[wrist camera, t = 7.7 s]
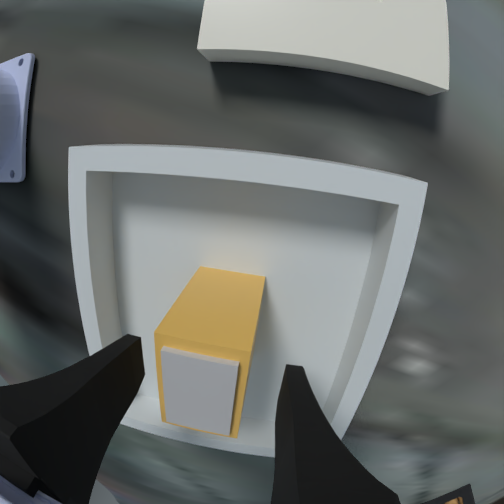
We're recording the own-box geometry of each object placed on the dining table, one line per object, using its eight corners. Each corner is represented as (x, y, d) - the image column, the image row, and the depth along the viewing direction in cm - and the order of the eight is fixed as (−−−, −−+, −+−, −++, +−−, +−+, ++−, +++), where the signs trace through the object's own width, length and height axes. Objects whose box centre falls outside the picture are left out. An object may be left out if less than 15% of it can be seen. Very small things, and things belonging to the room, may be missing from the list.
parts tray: (125, 390, 19) (107, 419, 16) (105, 144, 13) (68, 147, 11) (327, 425, 18) (329, 460, 15) (400, 174, 12) (427, 182, 10)
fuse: (196, 344, 16) (159, 426, 10) (200, 266, 14) (150, 336, 9) (253, 355, 15) (235, 443, 10) (265, 276, 14) (250, 356, 9)
